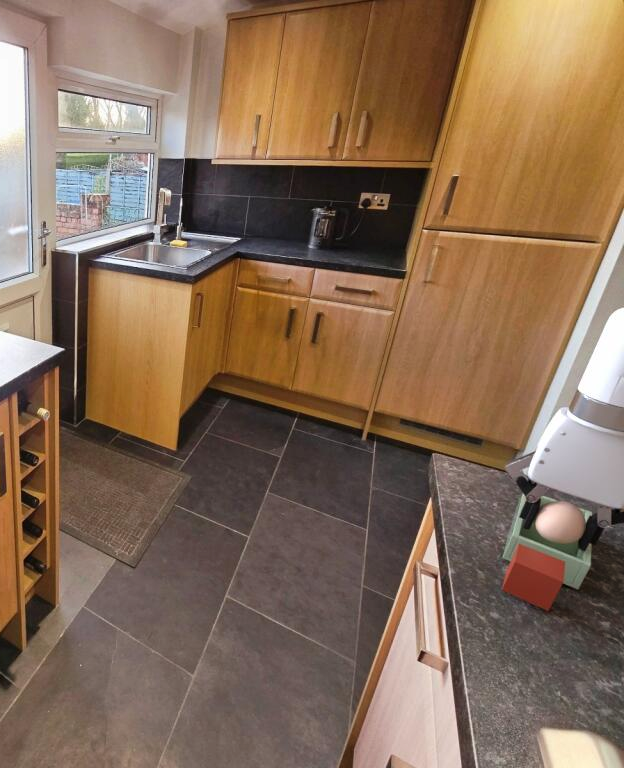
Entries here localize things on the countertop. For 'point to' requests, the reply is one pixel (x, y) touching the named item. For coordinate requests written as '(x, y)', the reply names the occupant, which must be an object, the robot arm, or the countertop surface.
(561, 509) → the egg
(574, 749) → the countertop surface
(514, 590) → the block
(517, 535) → the tray
